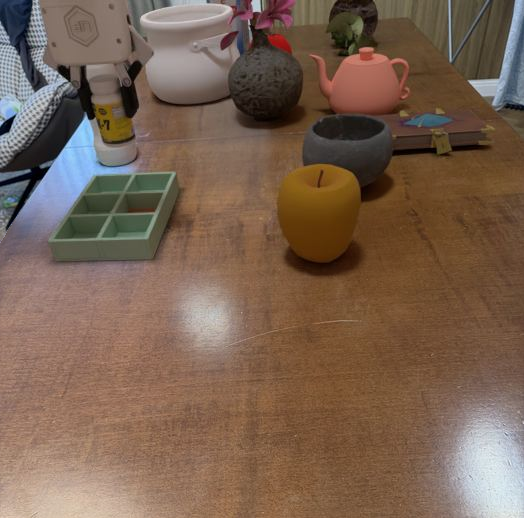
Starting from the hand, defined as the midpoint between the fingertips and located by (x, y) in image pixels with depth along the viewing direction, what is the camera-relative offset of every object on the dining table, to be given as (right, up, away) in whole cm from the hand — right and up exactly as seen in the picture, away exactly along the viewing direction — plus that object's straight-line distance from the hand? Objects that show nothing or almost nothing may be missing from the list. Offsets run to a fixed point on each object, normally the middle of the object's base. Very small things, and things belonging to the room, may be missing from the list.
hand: (112, 114), depth 70 cm
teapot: (+42, +21, +44) cm, 65 cm away
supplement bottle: (0, -3, +3) cm, 4 cm away
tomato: (+23, +43, +69) cm, 85 cm away
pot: (+4, +35, +62) cm, 71 cm away
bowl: (+35, -4, +19) cm, 40 cm away
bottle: (-9, +6, +33) cm, 35 cm away
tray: (-2, -12, +14) cm, 18 cm away
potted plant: (+47, +56, +80) cm, 108 cm away
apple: (+29, -19, +3) cm, 35 cm away
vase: (+21, +20, +45) cm, 54 cm away
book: (+51, +9, +30) cm, 60 cm away
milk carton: (+12, +55, +83) cm, 100 cm away
